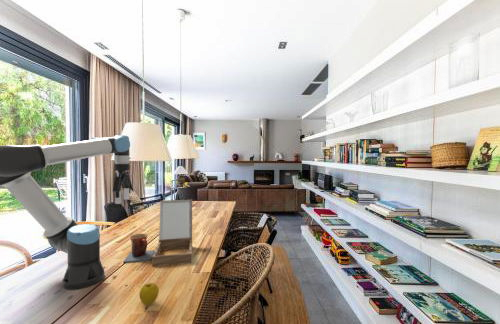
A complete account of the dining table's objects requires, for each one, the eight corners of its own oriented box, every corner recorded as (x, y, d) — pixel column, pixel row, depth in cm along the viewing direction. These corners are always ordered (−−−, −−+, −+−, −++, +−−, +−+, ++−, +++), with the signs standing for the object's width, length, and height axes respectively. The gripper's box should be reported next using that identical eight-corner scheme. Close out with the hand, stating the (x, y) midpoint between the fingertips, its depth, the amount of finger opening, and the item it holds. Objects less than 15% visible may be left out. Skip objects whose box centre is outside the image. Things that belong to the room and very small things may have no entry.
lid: (192, 199, 154) (192, 199, 155) (160, 200, 150) (160, 201, 151) (192, 237, 147) (192, 237, 148) (158, 239, 143) (159, 240, 144)
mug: (127, 255, 132) (127, 236, 132) (142, 250, 139) (142, 232, 139) (138, 260, 125) (137, 241, 125) (154, 255, 132) (153, 236, 131)
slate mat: (150, 260, 127) (150, 259, 127) (123, 263, 124) (123, 261, 124) (154, 251, 139) (154, 250, 139) (130, 253, 137) (130, 252, 137)
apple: (135, 307, 87) (135, 285, 87) (148, 297, 93) (148, 277, 93) (149, 311, 85) (149, 288, 84) (162, 301, 90) (162, 279, 90)
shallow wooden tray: (191, 262, 124) (191, 251, 124) (152, 266, 120) (152, 255, 120) (192, 246, 147) (192, 237, 147) (159, 249, 143) (158, 239, 143)
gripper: (121, 163, 123) (121, 205, 123) (135, 163, 148) (136, 197, 148) (105, 163, 122) (105, 206, 122) (122, 163, 147) (123, 198, 147)
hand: (122, 201), depth 135 cm, fingers open, 13 cm apart
